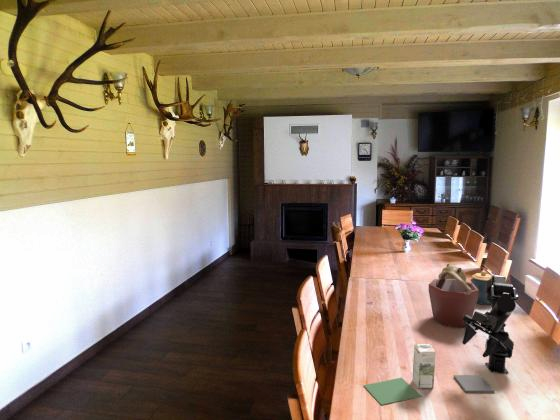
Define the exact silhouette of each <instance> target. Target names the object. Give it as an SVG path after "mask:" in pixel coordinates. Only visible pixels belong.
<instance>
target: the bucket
mask: <svg viewBox="0 0 560 420" xmlns="http://www.w3.org/2000/svg"><path fill="white" fill-rule="evenodd" d="M448 274H451V275H452V276H453V277H454V278H455V279H446V276H447V275H448ZM428 295H429V302H430V308H431V313H432V317H433V318H432V319H433V321H435V322H437V323H438V324H440V325H441V326H442V327H450V328H455V329H456V328H457V329H461V328H465V324H464V323H463V322H464V321H463V320H462V318H463V317H464V316H465V315H469V316H470V317H473V314H474V312H475V311H476V310H475V309H476V306H477V304H478V303H477V299H478V296H479V290H478V288H477V287H476V286H475V285H474V284H473V283H471V282H469V281H466V282H465V281H463V280H462V279H461V278H460V277H459V276H458V275H457V274H456V273H455V272H453V271H451V272H443V273H442V274H441V276H440V279H439V278H434V279H433V280H432V281H431V282H429V283H428Z"/></svg>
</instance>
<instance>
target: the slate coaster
mask: <svg viewBox="0 0 560 420" xmlns="http://www.w3.org/2000/svg"><path fill="white" fill-rule="evenodd" d="M453 378H454V380H456V382H457V383H458V385H459V386H460V387H461V389H463V391H464V393H466V394H468V393H471V394H473V393H474V394H475V393H476V394H477V393H478V394H479V393H482V394H483V393H484V394H486V393H489V394H490V393H493V394H494V393H495V389H494V388H493V387H492V386H491V385H490V384H489V383H488V381H487V380H485V378H484V377H483V376H482V375H481V374H453Z"/></svg>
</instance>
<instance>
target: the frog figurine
mask: <svg viewBox="0 0 560 420" xmlns="http://www.w3.org/2000/svg"><path fill="white" fill-rule="evenodd" d="M451 271H453V272H455V273H456V274H457V275H458V276H459V277H460V278H461V279H462V280H463V281H465V282H467V274H466V273H465V271H464V270H463V269H462V267H457V266H454V265H451V264H450V263H447V264H446V266H445V267H443V268H442V271H441V272H440V273H439V274H438V278H437V279H440V276H441V274H442V273H443V272H451ZM446 279H455V278H454V277H453V276H452V275H451V274H448V275H447V276H446Z"/></svg>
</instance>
